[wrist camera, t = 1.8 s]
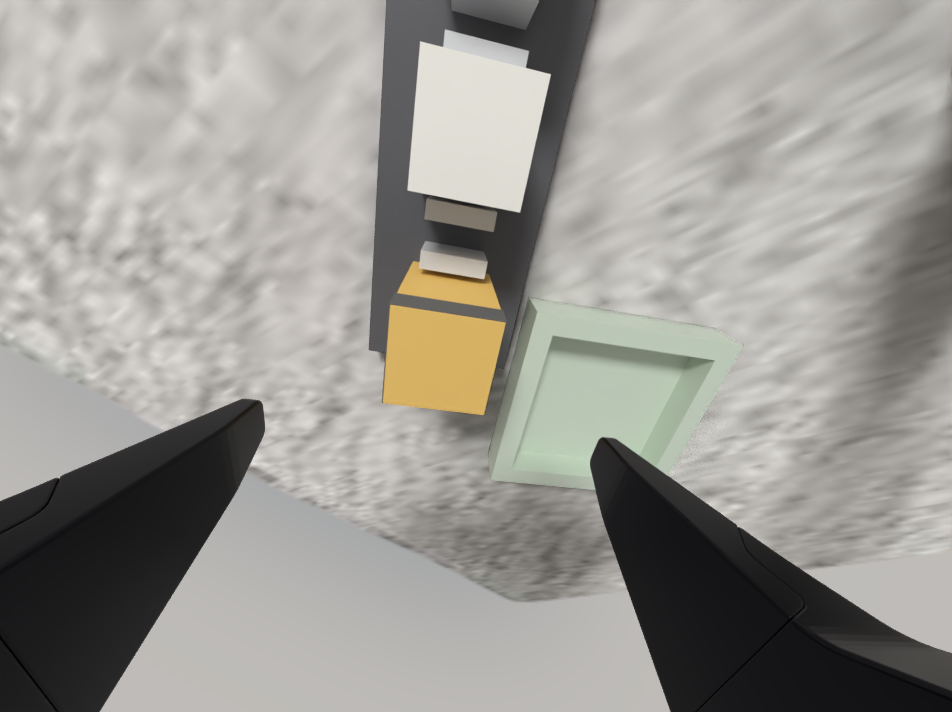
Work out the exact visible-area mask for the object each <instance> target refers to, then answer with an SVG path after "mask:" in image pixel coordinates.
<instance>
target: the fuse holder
mask: <svg viewBox="0 0 952 712" xmlns="http://www.w3.org/2000/svg"><path fill="white" fill-rule="evenodd" d="M595 1H596V0H386V19H385V39H384V59H383V79H382V98H381V118H380V138H379V158H378V178H377V198H376V218H375V237H374V257H373V277H372V297H371V317H370V337H369V350H371V351H378V352H385V353H386V341H387V327H388V314H389V303H390V301H391V299H392V297H393V295H394V293H397V292H398V290H399V288H400V286H401V284H402V282H403V280H404V278H405V276H406V274H407V272H408V270H409V268H410V266H411V264H412V263H413V261H416V262H420V263H419V268H420V269H426V270H432V271H438V272H444V273H450V274H455V275H461V276H467V277H473V278H479V279H484V278H485V274H489V275H490V278H491V281H492V284H493V287H494V290H495V293H496V296H497V299H498V302H499V305H500V308H501V310H503V311H504V314H505V317H506V320H507V324H506V328H505V332H504V336H503V340H502V345H501V349H500V353H499V357H498V361H497V365H496V368H501V369H504V365H505V361H506V357H507V353H508V349H509V345H510V341H511V337H512V333H513V329H514V325H515V321H516V317H517V313H518V309H519V305H520V301H521V297H522V293H523V289H524V285H525V281H526V277H527V273H528V269H529V265H530V261H531V257H532V253H533V249H534V245H535V241H536V237H537V233H538V229H539V225H540V221H541V217H542V213H543V209H544V205H545V201H546V197H547V193H548V189H549V185H550V181H551V177H552V173H553V169H554V165H555V161H556V157H557V153H558V149H559V145H560V141H561V137H562V133H563V129H564V125H565V121H566V117H567V113H568V109H569V105H570V101H571V97H572V93H573V89H574V85H575V81H576V77H577V73H578V69H579V65H580V61H581V57H582V53H583V49H584V45H585V41H586V37H587V33H588V29H589V25H590V21H591V17H592V13H593V9H594V5H595ZM420 41H421V42H425V43H429V44H433V45H437V46H441V47H445V48H449V49H452V50H456V51H460V52H464V53H468V54H472V55H476V56H480V57H484V58H488V59H492V60H496V61H500V62H504V63H508V64H512V65H516V66H520V67H524V68H528V69H532V70H536V71H540V72H544V73H548V74H551V76H550V81H549V85H548V90H547V94H546V99H545V103H544V108H543V112H542V117H541V121H540V126H539V130H538V134H537V139H536V143H535V148H534V152H533V157H532V161H531V166H530V170H529V175H528V179H527V184H526V188H525V193H524V197H523V202H522V206H521V211H520V213H519V212H514V211H509V210H504V209H499V208H494V207H489V206H484V205H479V204H474V203H469V202H464V201H458V200H453V199H448V198H443V197H438V196H433V195H428V194H423V193H418V192H413V191H408V190H407V189H408V178H409V166H410V154H411V143H412V131H413V119H414V108H415V96H416V84H417V73H418V61H419V50H420Z"/></svg>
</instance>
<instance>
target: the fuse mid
mask: <svg viewBox="0 0 952 712" xmlns="http://www.w3.org/2000/svg"><path fill="white" fill-rule="evenodd" d="M550 76H551V74H548V73H544V72H540V71H536V70H532V69H528V68H524V67H520V66H516V65H512V64H508V63H504V62H500V61H496V60H492V59H488V58H484V57H480V56H476V55H472V54H468V53H464V52H460V51H456V50H452V49H449V48H445V47H441V46H437V45H433V44H429V43H425V42H421V41H420V50H419V61H418V73H417V84H416V96H415V108H414V119H413V131H412V143H411V154H410V166H409V178H408V189H407V190H408V191H413V192H418V193H423V194H428V195H433V196H438V197H443V198H448V199H453V200H458V201H464V202H469V203H474V204H479V205H484V206H489V207H494V208H499V209H504V210H509V211H514V212H519V213H520V211H521V206H522V202H523V197H524V193H525V188H526V184H527V179H528V175H529V170H530V166H531V161H532V157H533V152H534V148H535V143H536V139H537V134H538V130H539V126H540V121H541V117H542V112H543V108H544V103H545V99H546V94H547V90H548V85H549V81H550Z"/></svg>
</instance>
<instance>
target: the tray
mask: <svg viewBox="0 0 952 712" xmlns="http://www.w3.org/2000/svg"><path fill="white" fill-rule="evenodd" d="M743 346H744V345H743V344H741V343H740V342H738V341H736V340H735V339H733V338H731V337H729V336H728V335H726V334H724V333H723V332H721V331H719V330H717V329H716V328H710V327H704V326H698V325H692V324H686V323H680V322H674V321H668V320H662V319H656V318H650V317H644V316H638V315H632V314H626V313H620V312H614V311H608V310H602V309H596V308H590V307H584V306H578V305H572V304H566V303H560V302H554V301H548V300H542V299H536V298H530V297H529V298H528V302H527V306H526V310H525V314H524V317H523V321H522V325H521V329H520V333H519V337H518V341H517V344H516V348H515V352H514V356H513V360H512V364H511V367H510V371H509V375H508V379H507V383H506V387H505V391H504V394H503V398H502V402H501V406H500V410H499V414H498V417H497V421H496V425H495V429H494V433H493V437H492V441H491V444H490V448H489V452H488V460H489V469H490V478H491V480H494V481H505V482H515V483H526V484H536V485H546V486H557V487H567V488H578V489H588V490H595V486H594V481H593V477H592V473H591V469H590V459H591V456H592V454H593V451H594V449H595V447H596V444H597V442H598V440H599V439H600V438H601V437H608V438H615V439H617V440H618V441H620V442H621V443H623V444H624V445H625V446H627V447H628V448H630V449H631V450H632V451H634V452H635V453H637V454H638V455H639V456H641V457H642V458H644V459H645V460H646V461H648V462H649V463H651V464H652V465H653V466H655V467H656V468H658V469H659V470H660V471H662V472H663V473H665V474H666V475H667V476H668V475H669V473H670V471H671V469H672V468H673V466H674V464H675V463H676V461H677V459H678V457H679V456H680V454H681V452H682V451H683V449H684V447H685V445H686V444H687V442H688V440H689V439H690V437H691V435H692V433H693V432H694V430H695V428H696V427H697V425H698V423H699V421H700V420H701V418H702V416H703V415H704V413H705V411H706V410H707V408H708V406H709V404H710V403H711V401H712V399H713V398H714V396H715V394H716V392H717V391H718V389H719V387H720V386H721V384H722V382H723V380H724V379H725V377H726V375H727V374H728V372H729V370H730V368H731V367H732V365H733V363H734V362H735V360H736V358H737V356H738V355H739V353H740V351H741V350H742V348H743Z"/></svg>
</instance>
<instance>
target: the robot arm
mask: <svg viewBox="0 0 952 712" xmlns="http://www.w3.org/2000/svg"><path fill="white" fill-rule="evenodd" d="M264 432H265V421H264V411H263V404H262V402H261V401H259V400H252V399H241V400H238V401H236V402H233V403H231V404H229V405H226V406H224V407H222V408H219V409H217V410H215V411H212V412H210V413H208V414H205V415H203V416H201V417H198V418H196V419H193V420H191V421H189V422H186V423H184V424H182V425H179V426H177V427H175V428H172V429H170V430H168V431H165V432H163V433H161V434H158V435H156V436H153V437H151V438H149V439H146V440H144V441H142V442H139V443H137V444H135V445H133V446H130V447H128V448H125V449H123V450H121V451H118V452H116V453H114V454H111V455H109V456H106V457H104V458H102V459H99V460H97V461H95V462H92V463H90V464H88V465H85V466H83V467H81V468H78V469H76V470H74V471H71V472H69V473H66V474H64V475H62V476H61V477H60V479H59V478H54V479H52V480H50V481H47V482H45V483H43V484H40V485H38V486H36V487H34V488H31V489H29V490H26V491H24V492H22V493H19V494H17V495H14V496H12V497H9V498H7V499H4V500H2V501H0V712H100V710H101V709H102V707H103V705H104V704H105V702H106V701H107V699H108V697H109V696H110V694H111V693H112V691H113V689H114V688H115V686H116V684H117V683H118V681H119V680H120V678H121V677H122V675H123V673H124V672H125V670H126V668H127V667H128V665H129V664H130V662H131V660H132V659H133V657H134V656H135V654H136V652H137V651H138V649H139V648H140V646H141V644H142V643H143V641H144V639H145V638H146V636H147V635H148V633H149V632H150V630H151V628H152V627H153V625H154V624H155V622H156V620H157V619H158V617H159V616H160V614H161V612H162V611H163V609H164V608H165V606H166V604H167V603H168V601H169V599H170V598H171V596H172V594H173V593H174V592H175V590H176V588H177V587H178V585H179V583H180V582H181V580H182V579H183V577H184V575H185V574H186V572H187V570H188V569H189V567H190V566H191V564H192V563H193V561H194V559H195V558H196V556H197V555H198V553H199V551H200V550H201V548H202V547H203V545H204V543H205V542H206V540H207V539H208V537H209V535H210V534H211V532H212V531H213V529H214V527H215V526H216V524H217V522H218V521H219V519H220V518H221V516H222V515H223V513H224V511H225V510H226V508H227V506H228V505H229V503H230V502H231V500H232V498H233V497H234V495H235V493H236V492H237V490H238V487H239V486H240V484H241V481H242V480H243V478H244V476H245V474H246V471H247V469H248V467H249V465H250V463H251V461H252V459H253V457H254V455H255V453H256V451H257V448H258V446H259V444H260V442H261V440H262V438H263V436H264ZM590 469H591V473H592V477H593V481H594V486H595V490H596V494H597V498H598V502H599V506H600V510H601V514H602V518H603V521H604V524H605V527H606V530H607V532H608V535H609V538H610V541H611V544H612V547H613V550H614V552H615V555H616V558H617V561H618V564H619V567H620V569H621V572H622V575H623V578H624V581H625V584H626V586H627V589H628V592H629V595H630V597H631V600H632V603H633V606H634V609H635V612H636V615H637V617H638V620H639V623H640V626H641V629H642V632H643V635H644V638H645V640H646V643H647V646H648V649H649V652H650V655H651V657H652V660H653V663H654V666H655V669H656V672H657V675H658V677H659V680H660V683H661V686H662V689H663V692H664V694H665V697H666V700H667V703H668V706H669V709H670V711H671V712H952V653H950V652H946V651H943V650H940V649H937V648H934V647H931V646H929V645H926V644H923V643H921V642H918V641H916V640H914V639H912V638H910V637H908V636H905V635H904V634H902V633H900V632H898V631H896V630H894V629H892V628H891V627H889V626H887V625H886V624H884V623H883V622H881V621H879V620H878V619H876V618H875V617H873V616H872V615H870V614H869V613H867V612H865V611H864V610H862V609H861V608H859V607H858V606H856V605H854V604H853V603H852V602H850V601H848V600H847V599H845V598H844V597H842V596H841V595H839V594H838V593H836V592H835V591H833V590H831V589H830V588H829V587H827V586H826V585H824V584H822V583H821V582H819V581H817V580H816V579H815V578H813V577H812V576H810V575H809V574H807V573H806V572H804V571H803V570H801V569H800V568H798V567H797V566H795V565H794V564H792V563H791V562H789V561H788V560H786V559H785V558H783V557H782V556H780V555H779V554H777V553H776V552H774V551H773V550H771V549H770V548H769V547H767V546H766V545H764V544H763V543H761V542H760V541H759V540H757V539H756V538H754V537H753V536H751V535H750V534H749V533H747V532H746V531H745V530H743V529H742V528H740V527H737V525H736V524H735V523H733V522H732V521H730V520H729V519H728V518H726V517H725V516H723V515H722V514H721V513H719V512H718V511H716V510H715V509H714V508H712V507H711V506H709V505H708V504H707V503H705V502H704V501H702V500H701V499H700V498H698V497H697V496H695V495H694V494H693V493H691V492H690V491H688V490H687V489H686V488H684V487H683V486H681V485H680V484H679V483H677V482H676V481H674V480H673V479H672V478H670V477H669V476H667V475H666V474H665V473H663V472H662V471H660V470H659V469H658V468H656V467H655V466H653V465H652V464H651V463H649V462H648V461H646V460H645V459H644V458H642V457H641V456H639V455H638V454H637V453H635V452H634V451H632V450H631V449H630V448H628V447H627V446H625V445H624V444H623V443H621V442H620V441H618V440H617V439H615V438H608V437H601V438H600V439H599V440H598V442H597V444H596V447H595V449H594V451H593V454H592V456H591V459H590Z"/></svg>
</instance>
